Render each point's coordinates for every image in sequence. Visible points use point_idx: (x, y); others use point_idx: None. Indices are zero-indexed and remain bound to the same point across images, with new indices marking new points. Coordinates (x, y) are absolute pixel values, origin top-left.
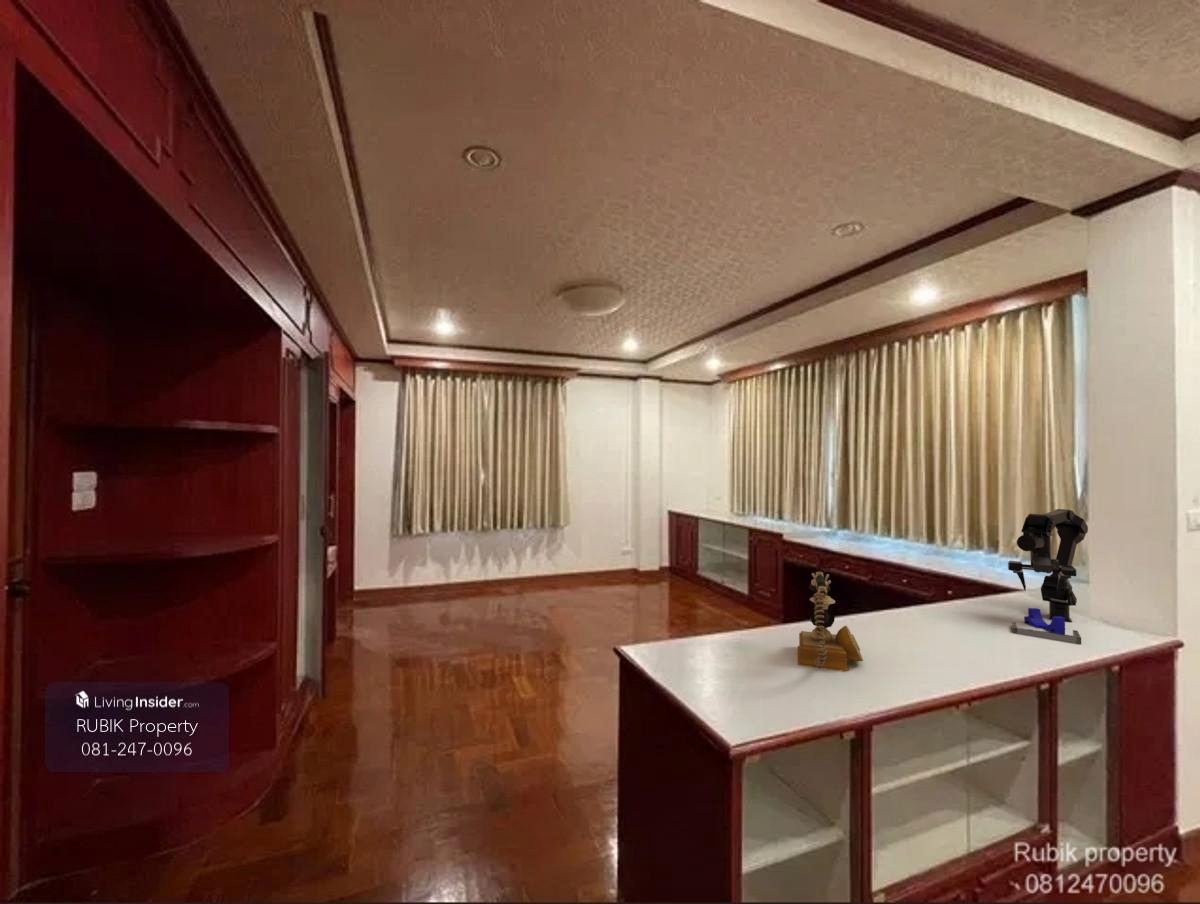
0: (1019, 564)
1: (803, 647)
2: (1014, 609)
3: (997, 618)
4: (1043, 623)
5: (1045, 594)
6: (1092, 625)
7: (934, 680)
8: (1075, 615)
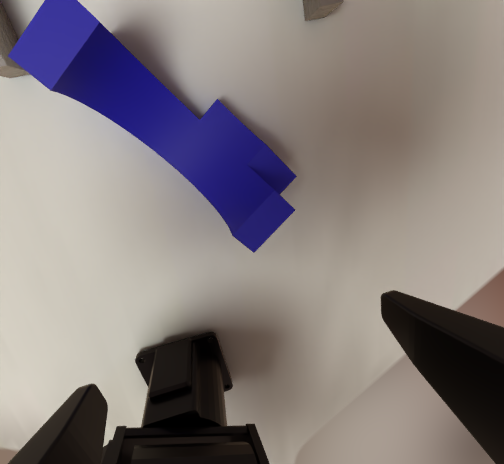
0: None
1: None
2: (335, 382)
3: (387, 186)
4: (200, 165)
5: (243, 451)
6: (71, 382)
7: None
8: None
